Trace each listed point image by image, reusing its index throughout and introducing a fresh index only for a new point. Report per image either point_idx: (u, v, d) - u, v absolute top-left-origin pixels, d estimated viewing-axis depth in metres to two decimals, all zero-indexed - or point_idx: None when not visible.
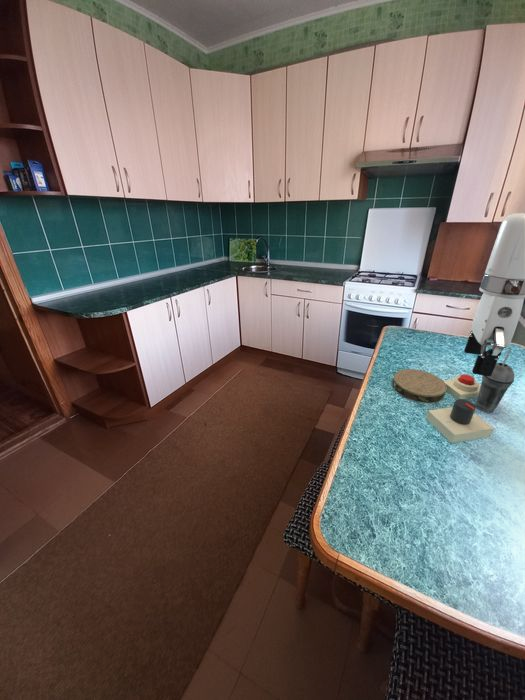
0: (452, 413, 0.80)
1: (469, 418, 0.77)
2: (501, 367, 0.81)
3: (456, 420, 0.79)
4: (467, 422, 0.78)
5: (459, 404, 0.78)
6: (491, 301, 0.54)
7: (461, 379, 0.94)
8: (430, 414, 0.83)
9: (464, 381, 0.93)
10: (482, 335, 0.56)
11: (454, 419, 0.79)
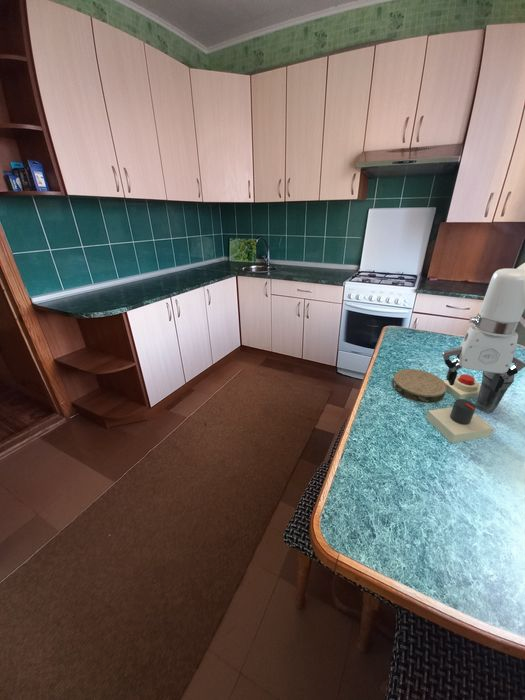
0: (452, 413, 0.80)
1: (469, 418, 0.77)
2: None
3: (456, 420, 0.79)
4: (467, 422, 0.78)
5: (459, 404, 0.78)
6: None
7: (461, 379, 0.94)
8: (430, 414, 0.83)
9: (464, 381, 0.93)
10: None
11: (454, 419, 0.79)
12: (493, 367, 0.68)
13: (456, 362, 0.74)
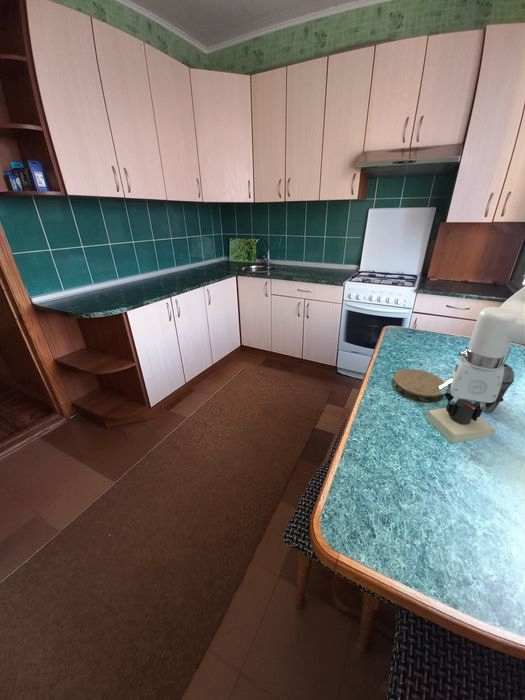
0: None
1: (469, 418, 0.77)
2: None
3: (456, 420, 0.79)
4: (467, 422, 0.78)
5: (459, 404, 0.78)
6: None
7: None
8: (430, 414, 0.83)
9: None
10: None
11: (454, 419, 0.79)
12: (482, 397, 0.73)
13: None
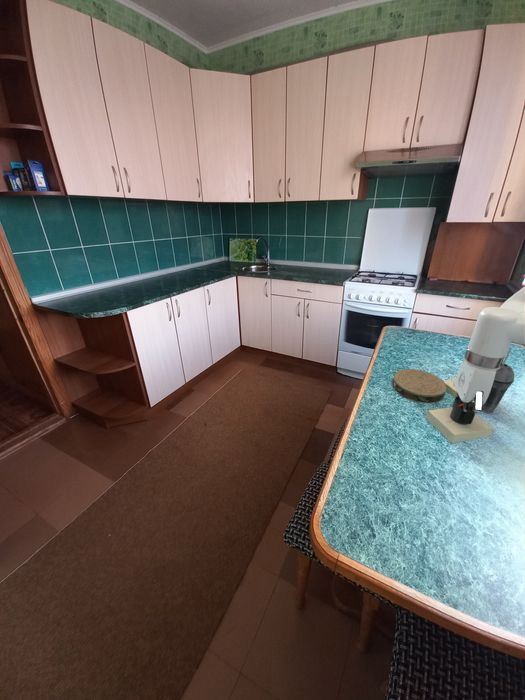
0: None
1: (454, 414, 0.79)
2: (501, 367, 0.81)
3: None
4: (452, 417, 0.79)
5: (461, 400, 0.79)
6: None
7: None
8: (430, 414, 0.83)
9: None
10: None
11: None
12: (460, 391, 0.75)
13: None
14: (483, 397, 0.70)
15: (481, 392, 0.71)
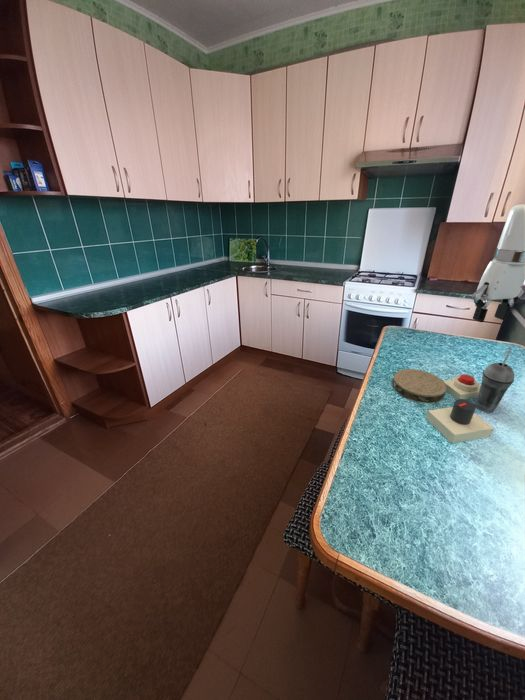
0: None
1: (454, 414, 0.79)
2: (501, 367, 0.81)
3: (451, 412, 0.81)
4: (453, 417, 0.79)
5: (460, 400, 0.79)
6: None
7: (461, 379, 0.94)
8: (430, 414, 0.83)
9: (464, 381, 0.93)
10: (520, 290, 0.80)
11: None
12: None
13: None
14: (488, 289, 0.79)
15: None
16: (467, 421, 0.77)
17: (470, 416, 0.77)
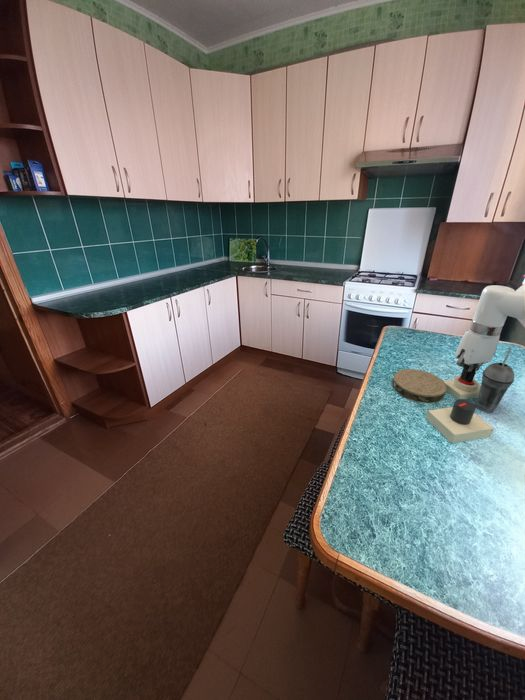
0: None
1: (454, 414, 0.79)
2: (501, 367, 0.81)
3: (451, 412, 0.81)
4: (453, 417, 0.79)
5: (460, 400, 0.79)
6: (498, 337, 0.86)
7: (460, 381, 0.94)
8: (430, 414, 0.83)
9: (463, 383, 0.94)
10: (493, 356, 0.89)
11: None
12: None
13: None
14: (464, 355, 0.88)
15: None
16: (467, 421, 0.77)
17: (470, 416, 0.77)
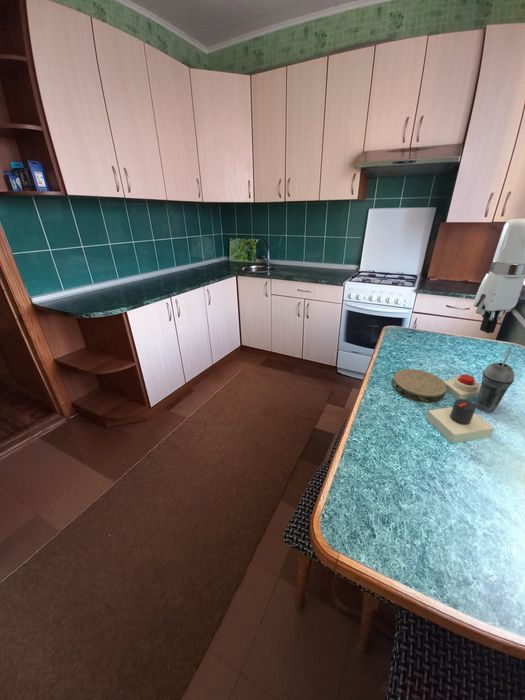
0: None
1: (454, 414, 0.79)
2: (501, 367, 0.81)
3: (451, 412, 0.81)
4: (453, 417, 0.79)
5: (460, 400, 0.79)
6: (523, 278, 0.78)
7: (461, 379, 0.94)
8: (430, 414, 0.83)
9: (464, 381, 0.93)
10: None
11: None
12: None
13: None
14: (485, 301, 0.80)
15: None
16: (467, 421, 0.77)
17: (470, 416, 0.77)
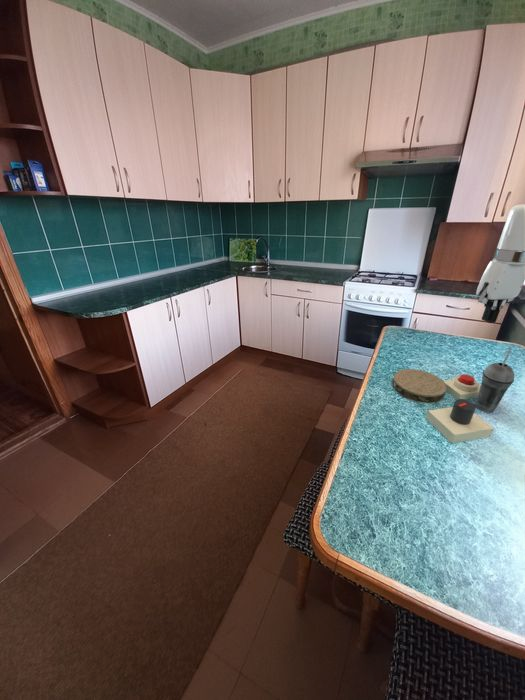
0: None
1: (454, 414, 0.79)
2: (501, 367, 0.81)
3: (451, 412, 0.81)
4: (453, 417, 0.79)
5: (460, 400, 0.79)
6: None
7: (461, 379, 0.94)
8: (430, 414, 0.83)
9: (464, 381, 0.93)
10: (520, 290, 0.80)
11: None
12: None
13: None
14: (488, 289, 0.79)
15: None
16: (467, 421, 0.77)
17: (470, 416, 0.77)
